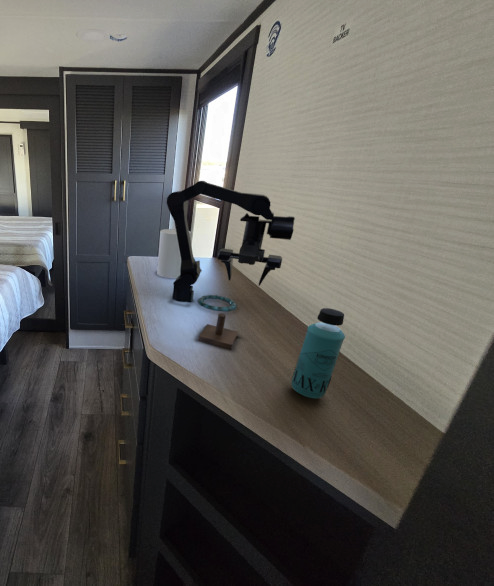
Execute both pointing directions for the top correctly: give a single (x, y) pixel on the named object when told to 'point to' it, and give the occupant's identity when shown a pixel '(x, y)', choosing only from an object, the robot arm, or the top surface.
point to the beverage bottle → (319, 354)
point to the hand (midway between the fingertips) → (244, 282)
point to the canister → (169, 254)
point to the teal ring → (229, 308)
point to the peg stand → (218, 334)
